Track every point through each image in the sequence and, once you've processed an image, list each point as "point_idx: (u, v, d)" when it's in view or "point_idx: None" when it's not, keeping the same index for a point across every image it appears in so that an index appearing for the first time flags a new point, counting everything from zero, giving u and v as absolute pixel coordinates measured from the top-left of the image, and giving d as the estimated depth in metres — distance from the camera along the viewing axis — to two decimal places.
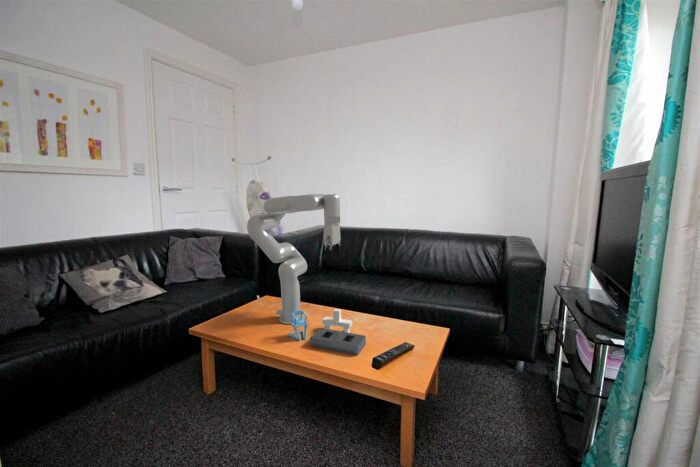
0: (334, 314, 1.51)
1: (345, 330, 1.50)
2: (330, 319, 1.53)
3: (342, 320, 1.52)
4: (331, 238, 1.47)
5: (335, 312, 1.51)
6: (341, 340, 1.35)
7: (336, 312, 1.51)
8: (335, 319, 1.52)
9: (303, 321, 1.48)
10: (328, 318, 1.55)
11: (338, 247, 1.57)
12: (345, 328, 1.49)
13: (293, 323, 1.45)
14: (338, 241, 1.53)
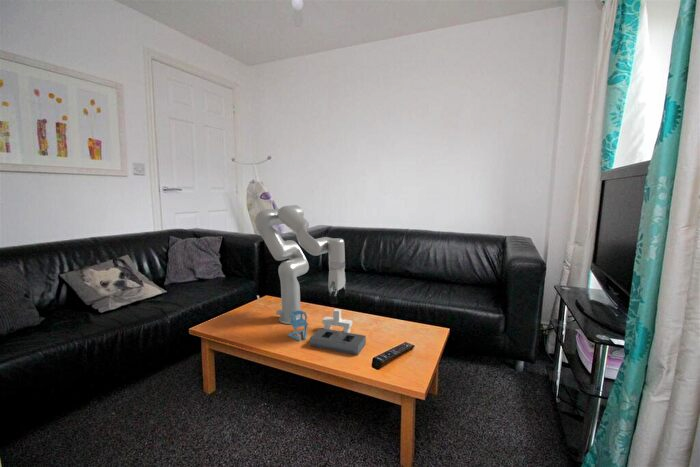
0: (334, 314, 1.51)
1: (345, 330, 1.50)
2: (330, 319, 1.53)
3: (342, 320, 1.52)
4: (336, 284, 1.45)
5: (335, 312, 1.51)
6: (341, 340, 1.35)
7: (336, 312, 1.51)
8: (335, 319, 1.52)
9: (303, 321, 1.48)
10: (328, 318, 1.55)
11: (343, 290, 1.54)
12: (345, 328, 1.49)
13: (293, 323, 1.45)
14: (343, 285, 1.51)
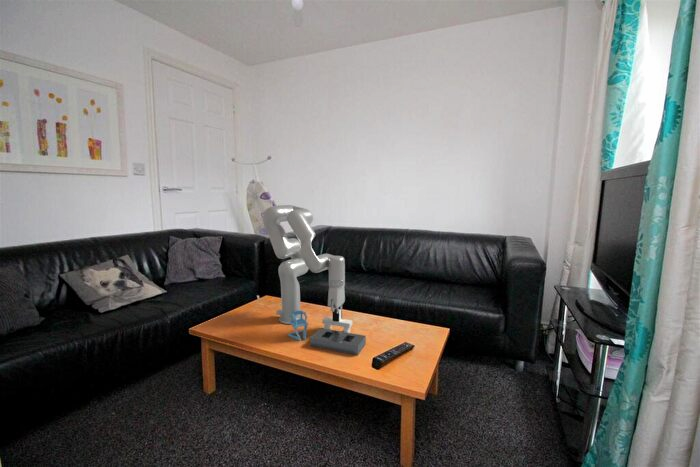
0: None
1: (345, 330, 1.50)
2: (331, 319, 1.53)
3: (342, 320, 1.52)
4: (336, 305, 1.47)
5: None
6: (341, 340, 1.35)
7: None
8: None
9: (303, 321, 1.48)
10: (328, 318, 1.55)
11: None
12: (345, 328, 1.49)
13: (293, 323, 1.45)
14: (342, 302, 1.53)
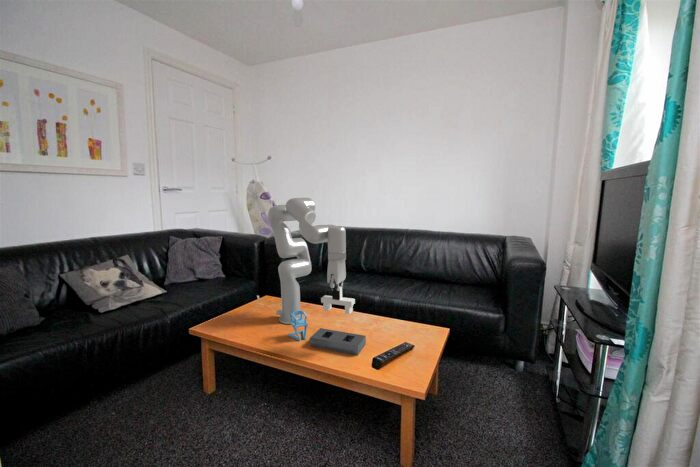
0: None
1: (347, 309, 1.34)
2: (330, 298, 1.37)
3: (343, 298, 1.36)
4: (336, 281, 1.31)
5: None
6: (341, 340, 1.35)
7: None
8: None
9: (303, 321, 1.48)
10: (327, 297, 1.39)
11: None
12: (347, 307, 1.33)
13: (293, 323, 1.45)
14: (343, 278, 1.37)
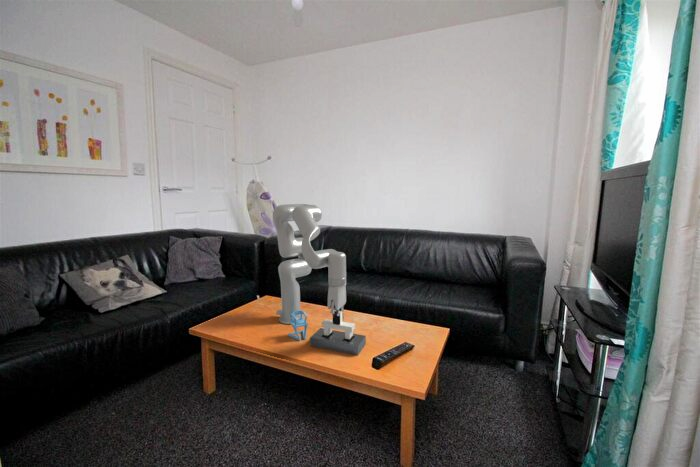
0: None
1: (347, 334, 1.35)
2: (331, 322, 1.38)
3: (343, 323, 1.37)
4: (336, 307, 1.32)
5: None
6: (341, 340, 1.35)
7: None
8: None
9: (303, 321, 1.48)
10: (328, 321, 1.40)
11: None
12: (347, 332, 1.34)
13: (293, 323, 1.45)
14: (344, 303, 1.38)
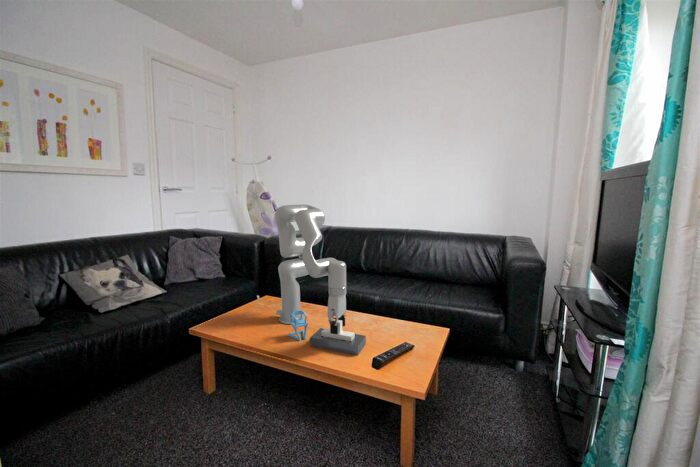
0: None
1: None
2: None
3: (343, 332, 1.38)
4: (336, 313, 1.32)
5: None
6: (341, 340, 1.35)
7: (337, 323, 1.37)
8: None
9: (303, 321, 1.48)
10: (328, 330, 1.40)
11: (343, 319, 1.41)
12: (347, 341, 1.35)
13: (293, 323, 1.45)
14: (344, 312, 1.38)
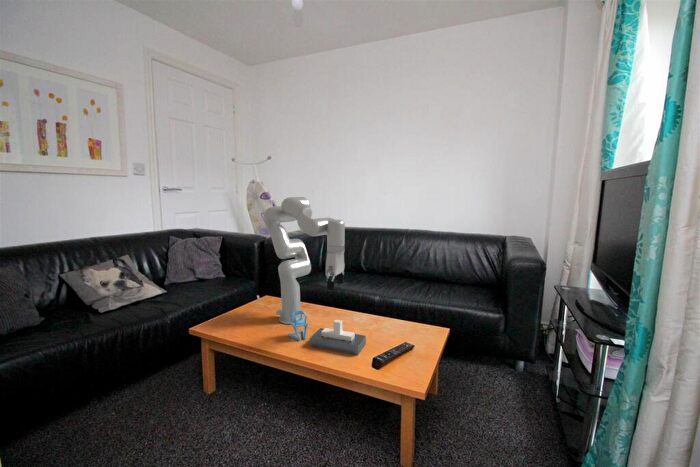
0: (335, 326, 1.37)
1: None
2: (331, 331, 1.39)
3: (343, 332, 1.38)
4: (334, 269, 1.34)
5: (336, 323, 1.37)
6: (341, 340, 1.35)
7: (337, 323, 1.37)
8: (336, 331, 1.37)
9: (303, 321, 1.48)
10: (328, 330, 1.40)
11: (341, 276, 1.44)
12: (347, 341, 1.35)
13: (293, 323, 1.45)
14: (341, 270, 1.41)
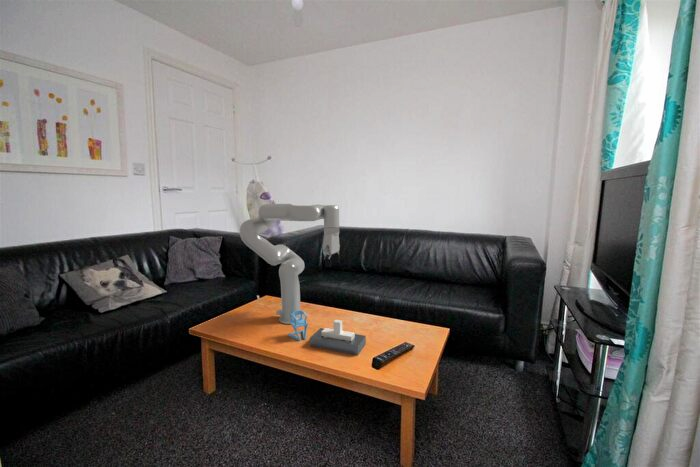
0: (335, 326, 1.37)
1: None
2: (331, 331, 1.39)
3: (343, 332, 1.38)
4: (330, 248, 1.53)
5: (336, 323, 1.37)
6: (341, 340, 1.35)
7: (337, 323, 1.37)
8: (336, 331, 1.37)
9: (303, 321, 1.48)
10: (328, 330, 1.40)
11: (337, 256, 1.62)
12: (347, 341, 1.35)
13: (293, 323, 1.45)
14: (337, 250, 1.59)
